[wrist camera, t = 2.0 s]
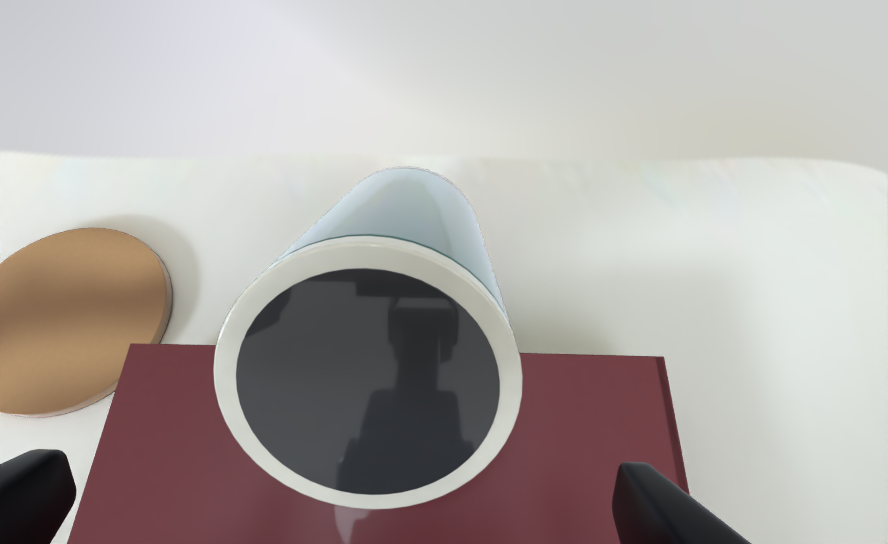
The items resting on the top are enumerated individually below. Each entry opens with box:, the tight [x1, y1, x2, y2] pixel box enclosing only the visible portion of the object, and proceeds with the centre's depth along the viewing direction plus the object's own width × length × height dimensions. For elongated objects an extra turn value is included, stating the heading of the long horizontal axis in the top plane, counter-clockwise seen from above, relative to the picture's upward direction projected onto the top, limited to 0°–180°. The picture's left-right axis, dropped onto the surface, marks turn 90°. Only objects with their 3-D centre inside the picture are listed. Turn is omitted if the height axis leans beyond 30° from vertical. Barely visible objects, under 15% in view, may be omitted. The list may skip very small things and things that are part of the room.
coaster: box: [0, 228, 172, 418], centre depth 21 cm, size 9×9×1 cm
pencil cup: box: [213, 166, 523, 509], centre depth 16 cm, size 13×7×13 cm, turn 179°
